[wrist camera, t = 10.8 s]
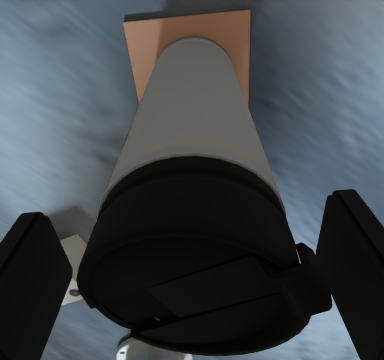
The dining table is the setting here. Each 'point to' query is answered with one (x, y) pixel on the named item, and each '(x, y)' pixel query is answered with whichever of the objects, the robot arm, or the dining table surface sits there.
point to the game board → (189, 26)
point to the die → (73, 265)
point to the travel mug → (198, 221)
